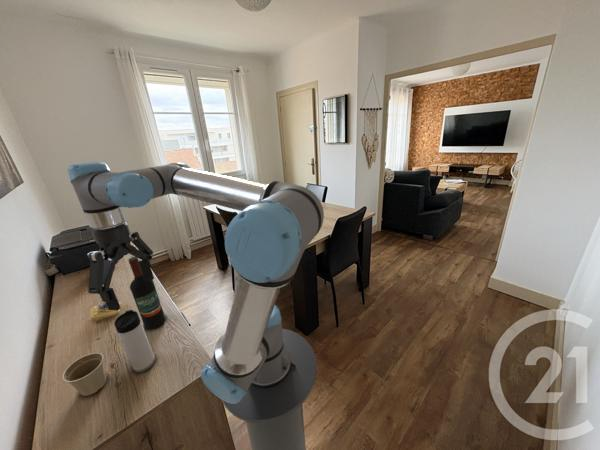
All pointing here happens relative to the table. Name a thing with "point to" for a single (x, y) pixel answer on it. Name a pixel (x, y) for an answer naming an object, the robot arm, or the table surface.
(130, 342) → the travel mug
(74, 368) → the flower pot
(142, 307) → the wine bottle
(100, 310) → the cake
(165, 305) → the table surface
